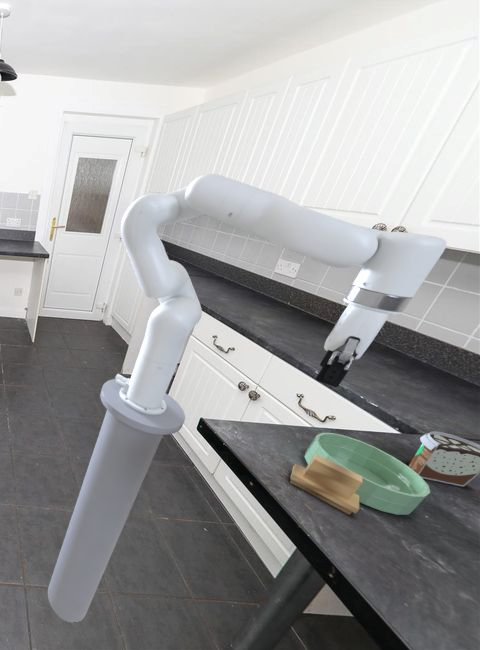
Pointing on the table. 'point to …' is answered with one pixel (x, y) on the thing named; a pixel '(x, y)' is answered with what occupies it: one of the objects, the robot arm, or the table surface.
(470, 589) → the table surface
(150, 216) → the robot arm
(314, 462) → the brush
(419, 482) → the bowl
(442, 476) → the food container
